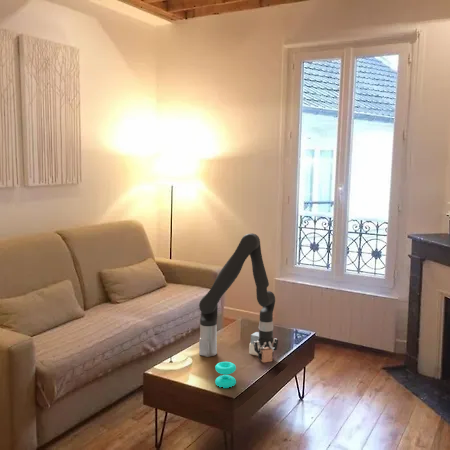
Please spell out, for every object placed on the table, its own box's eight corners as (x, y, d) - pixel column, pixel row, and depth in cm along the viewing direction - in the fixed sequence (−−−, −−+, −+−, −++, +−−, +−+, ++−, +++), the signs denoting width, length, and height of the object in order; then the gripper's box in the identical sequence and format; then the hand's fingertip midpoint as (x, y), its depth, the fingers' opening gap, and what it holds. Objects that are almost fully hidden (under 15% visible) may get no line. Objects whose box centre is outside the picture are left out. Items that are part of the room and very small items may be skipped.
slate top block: (260, 345, 271) (260, 336, 270) (250, 343, 274) (250, 334, 273) (265, 342, 275) (265, 333, 275) (256, 340, 279) (256, 331, 278)
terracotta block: (263, 362, 262) (263, 351, 261) (258, 358, 267) (259, 347, 267) (272, 361, 264) (272, 349, 263) (268, 357, 269) (268, 346, 268)
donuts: (219, 359, 241) (238, 362, 238) (219, 378, 242) (238, 382, 239) (211, 367, 232) (231, 370, 228) (211, 387, 233) (231, 390, 230)
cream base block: (259, 356, 271) (260, 346, 270) (249, 353, 275) (249, 343, 274) (266, 352, 276) (266, 342, 276) (255, 349, 280) (255, 339, 280)
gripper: (256, 332, 258) (256, 363, 260) (281, 329, 262) (280, 359, 265) (250, 327, 265) (250, 357, 267) (275, 325, 269) (274, 354, 272)
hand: (265, 358), depth 266 cm, fingers open, 5 cm apart
